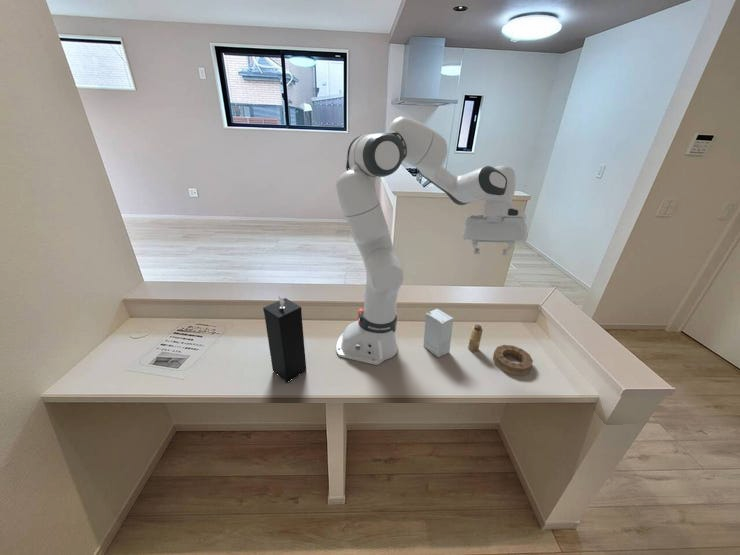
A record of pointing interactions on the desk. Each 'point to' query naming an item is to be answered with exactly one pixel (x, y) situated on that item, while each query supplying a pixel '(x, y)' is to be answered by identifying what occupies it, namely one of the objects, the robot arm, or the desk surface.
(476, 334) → the wooden peg
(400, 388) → the desk surface
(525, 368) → the brown faceted ring
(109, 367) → the desk surface
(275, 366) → the square furniture leg
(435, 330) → the skincare box
